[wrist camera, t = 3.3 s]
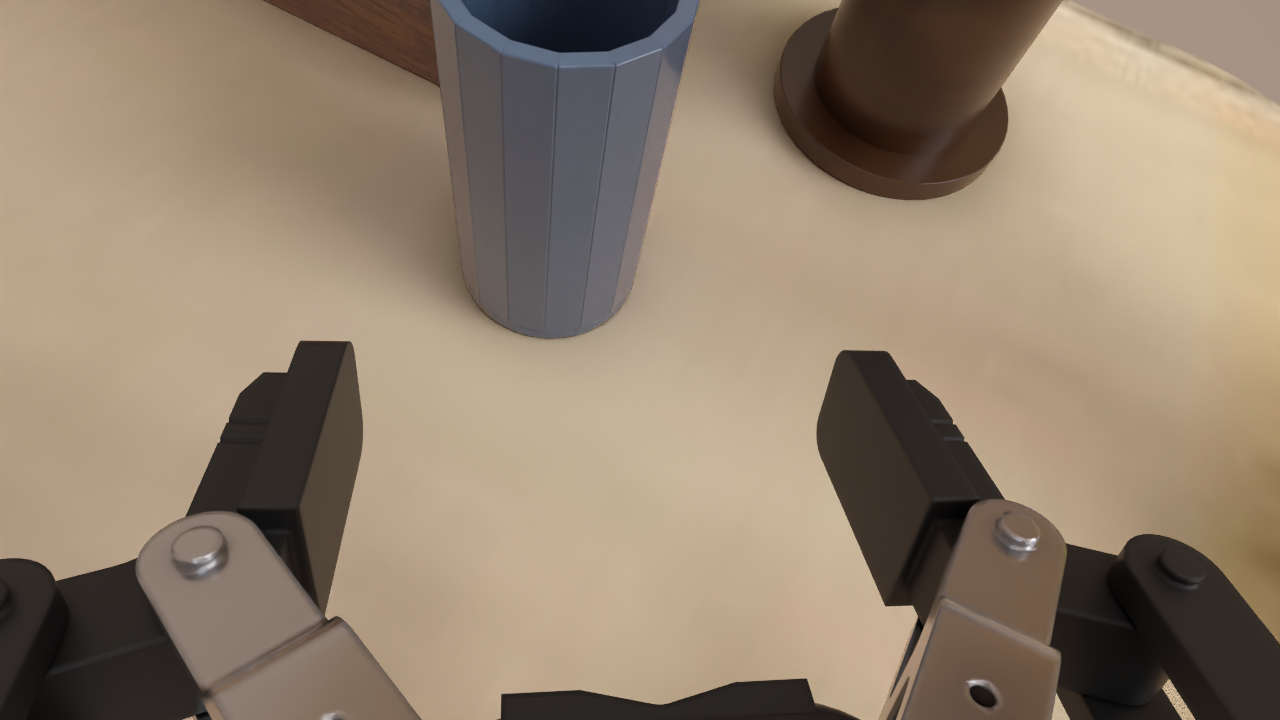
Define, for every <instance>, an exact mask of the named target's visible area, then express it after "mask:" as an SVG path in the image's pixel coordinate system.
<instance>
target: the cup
mask: <svg viewBox="0 0 1280 720" xmlns="http://www.w3.org/2000/svg"><path fill="white" fill-rule="evenodd" d="M699 4H700V0H430V7H431V16H432V24H433V32H434V41H435V49H436V57H437V65H438V74H439V82H440V90H441V99H442V107H443V115H444V123H445V132H446V140H447V148H448V157H449V165H450V173H451V181H452V190H453V198H454V206H455V215H456V223H457V231H458V239H459V248H460V256H461V264H462V273H463V276H464V280H465V283H466V286H467V288H468V290H469V292H470V294H471V296H472V298H473V299H474V301H475V302H476V303H477V305H478V306H479V307H480V308H481V309H482V310H483V311H484V312H485V313H486V314H487V315H488V316H489V317H491V318H492V319H493V320H494V321H496V322H497V323H499V324H501V325H502V326H504V327H506V328H508V329H510V330H512V331H515V332H518V333H521V334H524V335H527V336H532V337H537V338H565V337H571V336H575V335H579V334H582V333H585V332H588V331H590V330H592V329H595V328H596V327H598V326H600V325H602V324H603V323H605V322H606V321H607V320H609V319H610V318H611V317H612V316H613V315H614V314H615V313H616V312H617V311H618V310H619V309H620V308H621V307H622V305H623V304H624V303H625V301H626V299H627V297H628V295H629V294H630V291H631V289H632V285H633V282H634V278H635V274H636V270H637V266H638V262H639V258H640V254H641V250H642V245H643V241H644V237H645V233H646V228H647V224H648V220H649V216H650V211H651V207H652V203H653V199H654V194H655V190H656V186H657V182H658V178H659V173H660V169H661V165H662V161H663V156H664V152H665V148H666V144H667V139H668V135H669V131H670V127H671V122H672V118H673V114H674V110H675V105H676V101H677V97H678V93H679V88H680V84H681V80H682V76H683V71H684V67H685V63H686V59H687V55H688V50H689V46H690V42H691V38H692V33H693V29H694V25H695V21H696V16H697V12H698V8H699Z"/></svg>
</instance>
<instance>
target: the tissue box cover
mask: <svg viewBox="0 0 1280 720" xmlns="http://www.w3.org/2000/svg"><path fill="white" fill-rule="evenodd" d="M266 1H268V2H270V3H272V4H274V5H276V6H278V7H280V8H282V9H284V10H286V11H288V12H290V13H292V14H294V15H296V16H298V17H301V18H303V19H305V20H307V21H309V22H311V23H313V24H315V25H317V26H319V27H321V28H323V29H325V30H327V31H329V32H331V33H333V34H335V35H337V36H339V37H342V38H344V39H346V40H348V41H350V42H352V43H354V44H356V45H358V46H360V47H362V48H364V49H366V50H368V51H370V52H372V53H374V54H376V55H378V56H381V57H383V58H385V59H387V60H389V61H391V62H393V63H395V64H397V65H399V66H401V67H403V68H405V69H407V70H409V71H411V72H413V73H415V74H417V75H419V76H422V77H424V78H426V79H428V80H430V81H432V82H434V83H436V84H438V85H440V82H439V74H438V65H437V57H436V49H435V41H434V32H433V24H432V16H431V7H430V0H266Z"/></svg>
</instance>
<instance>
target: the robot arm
mask: <svg viewBox="0 0 1280 720" xmlns="http://www.w3.org/2000/svg"><path fill="white" fill-rule="evenodd" d="M362 441H363V419H362V410H361V402H360V394H359V386H358V378H357V370H356V362H355V354H354V348H353V345H352V343H351V342H350V341H300V342H299V344H298V346H297V348H296V351H295V354H294V356H293V359H292V361H291V364H290V367H289V369H288V372H287V373H269V372H263V373H262V374H261V375H260V376H259V377H258V378H257V379H256V380H254V381H253V382H252V383H251V384H250V385H249V386H248V387H247V388H245V389H244V390H243V391H242V392H241V393H240V394H239V396H238V399H237V401H236V403H235V405H234V408H233V410H232V412H231V414H230V417H229V423H226V426H225V428H224V430H223V433H222V435H221V437H220V443H218V444H217V446H216V448H215V451H214V453H213V455H212V458H211V460H210V462H209V464H208V467H207V469H206V471H205V473H204V476H203V478H202V480H201V483H200V485H199V487H198V489H197V492H196V494H195V496H194V498H193V501H192V503H191V505H190V508H189V510H188V512H187V514H186V516H185V517H184V518H182V519H179V520H177V521H175V522H173V523H171V524H169V525H167V526H166V527H164V528H163V529H161V530H160V531H158V532H157V533H156V534H155V535H154V536H152V537H151V538H150V540H149V541H148V542H147V543H146V544H145V545H144V547H143V548H142V550H141V551H140V553H139V556H138V558H136V559H134V560H131V561H129V562H126V563H123V564H120V565H117V566H113V567H110V568H106V569H102V570H98V571H94V572H90V573H86V574H82V575H78V576H74V577H71V578H67V579H63V580H59V581H55V579H54V577H53V575H52V573H51V572H50V571H49V570H48V569H47V568H46V567H45V566H44V565H42V564H40V563H38V562H35V561H32V560H27V559H20V558H8V559H0V720H182V719H185V718H188V717H191V716H192V717H193V719H194V720H421V718H420V717H419V716H418V714H417V713H416V712H415V710H414V709H413V708H412V707H411V705H410V704H409V703H408V701H407V700H406V699H405V697H404V696H403V695H402V693H401V692H400V691H399V690H398V688H397V687H396V686H395V684H394V683H393V682H392V680H391V679H390V678H389V676H388V675H387V674H386V673H385V671H384V670H383V669H382V667H381V666H380V665H379V663H378V662H377V661H376V659H375V658H374V657H373V656H372V654H371V653H370V652H369V650H368V649H367V648H366V646H365V645H364V644H363V642H362V641H361V640H360V639H359V637H358V636H357V635H356V633H355V632H354V631H353V629H352V628H351V627H350V626H349V625H348V624H347V623H346V622H345V621H344V620H343V619H342V618H340V617H338V616H335V617H334V618H332V619H330V620H328V619H327V618H326V617H325V611H326V607H327V603H328V598H329V594H330V589H331V585H332V581H333V576H334V572H335V567H336V563H337V558H338V554H339V550H340V545H341V541H342V536H343V532H344V528H345V523H346V519H347V514H348V510H349V506H350V501H351V497H352V492H353V488H354V484H355V479H356V475H357V470H358V466H359V461H360V457H361V451H362ZM817 445H818V450H819V454H820V456H821V459H822V461H823V463H824V466H825V468H826V470H827V472H828V475H829V477H830V479H831V482H832V484H833V486H834V489H835V491H836V493H837V496H838V498H839V500H840V502H841V505H842V507H843V509H844V512H845V514H846V516H847V519H848V521H849V523H850V526H851V528H852V530H853V532H854V535H855V537H856V539H857V542H858V544H859V546H860V549H861V551H862V553H863V556H864V558H865V560H866V562H867V565H868V567H869V569H870V572H871V574H872V576H873V579H874V581H875V583H876V586H877V588H878V590H879V592H880V595H881V597H882V599H883V602H884V604H885V606H909V605H913V606H914V609H915V611H916V613H917V615H918V618H917V620H916V622H915V624H914V626H913V628H912V630H911V633H910V636H909V638H908V641H907V644H906V647H905V649H904V652H903V655H902V657H901V660H900V663H899V666H898V668H897V671H896V674H895V676H894V679H893V682H892V685H891V687H890V690H889V693H888V695H887V698H886V701H885V704H884V706H883V709H882V712H881V714H880V717H879V719H878V720H1051V718H1052V713H1053V707H1054V701H1055V695H1056V693H1057V695H1058V697H1059V699H1060V701H1061V703H1062V705H1063V707H1064V708H1065V710H1066V712H1067V714H1068V716H1069V718H1070V720H1182V719H1181V717H1180V716H1179V714H1178V713H1177V711H1176V710H1175V708H1174V706H1173V705H1172V703H1171V702H1170V700H1169V698H1168V697H1167V695H1166V694H1165V692H1164V691H1163V689H1162V687H1163V686H1164V684H1165V683H1166V682H1167V681H1168V680H1169V679H1170V680H1171V682H1172V683H1173V685H1174V687H1175V688H1176V690H1177V691H1178V693H1179V694H1180V696H1181V697H1182V699H1183V700H1184V702H1185V704H1186V705H1187V707H1188V708H1189V710H1190V711H1191V713H1192V714H1193V716H1194V718H1195V720H1280V644H1279V643H1278V641H1277V640H1276V639H1275V638H1274V636H1273V635H1272V634H1271V633H1270V631H1269V630H1268V629H1267V628H1266V626H1265V625H1264V624H1263V623H1262V621H1261V620H1260V619H1259V618H1258V616H1257V615H1256V614H1255V613H1254V611H1253V610H1252V609H1251V608H1250V606H1249V605H1248V604H1247V603H1246V601H1245V600H1244V599H1243V597H1242V596H1241V595H1240V594H1239V592H1238V591H1237V590H1236V589H1235V587H1234V586H1233V585H1232V584H1231V582H1230V581H1229V580H1228V579H1227V577H1226V576H1225V575H1224V574H1223V572H1222V571H1221V570H1220V569H1219V568H1218V567H1217V566H1216V565H1215V564H1214V563H1213V562H1212V561H1211V560H1210V559H1208V558H1207V557H1206V556H1204V555H1203V554H1202V553H1200V552H1199V551H1197V550H1195V549H1194V548H1192V547H1190V546H1188V545H1186V544H1184V543H1182V542H1180V541H1177V540H1175V539H1172V538H1169V537H1165V536H1160V535H1153V534H1142V535H1138V536H1135V537H1133V538H1131V539H1130V540H1129V541H1128V542H1127V543H1126V545H1125V546H1124V548H1123V549H1122V551H1121V552H1120V554H1119V555H1118V556H1117V555H1113V554H1108V553H1104V552H1100V551H1096V550H1091V549H1087V548H1083V547H1078V546H1074V545H1070V544H1067V543H1065V541H1064V539H1063V537H1062V536H1061V534H1060V532H1059V531H1058V530H1057V529H1056V528H1055V526H1054V525H1053V524H1052V523H1051V522H1049V521H1048V520H1047V519H1046V518H1045V517H1043V516H1042V515H1041V514H1039V513H1037V512H1036V511H1034V510H1032V509H1030V508H1028V507H1026V506H1024V505H1021V504H1019V503H1016V502H1012V501H1008V500H1005V499H1004V497H1003V496H1002V494H1001V493H1000V491H999V490H998V488H997V487H996V485H995V484H994V482H993V481H992V479H991V478H990V476H989V475H988V473H987V471H986V470H985V468H984V467H983V465H982V464H981V462H980V461H979V459H978V458H977V456H976V455H975V453H974V452H973V450H972V449H971V447H970V446H969V444H968V443H967V442H964V436H963V435H962V433H961V432H960V430H959V429H958V427H957V426H956V425H953V420H952V418H951V417H950V415H949V414H948V412H947V411H946V409H945V408H944V406H943V405H942V403H941V402H940V400H939V399H938V398H937V397H936V396H934V395H933V394H932V393H931V392H930V391H928V390H927V389H926V388H925V387H923V386H922V385H921V384H920V383H918V382H917V381H916V380H906V379H905V377H904V376H903V374H902V373H901V371H900V369H899V368H898V366H897V365H896V363H895V361H894V360H893V358H892V357H891V355H890V354H889V353H888V352H886V351H853V350H844V351H841V352H840V353H839V355H838V356H837V358H836V361H835V364H834V367H833V371H832V374H831V377H830V381H829V384H828V387H827V391H826V394H825V397H824V401H823V404H822V407H821V411H820V414H819V418H818V422H817ZM498 720H860V719H858V718H856V717H854V716H852V715H849V714H847V713H845V712H842V711H840V710H837V709H834V708H831V707H828V706H825V705H821V704H816V703H814V700H813V697H812V694H811V690H810V687H809V684H808V681H807V679H789V680H770V681H750V682H734V683H731V684H728V685H725V686H722V687H719V688H716V689H713V690H709V691H706V692H703V693H700V694H697V695H694V696H691V697H688V698H684V699H681V700H678V701H675V702H672V703H668V704H664V705H656V704H650V703H644V702H639V701H634V700H629V699H623V698H618V697H613V696H608V695H602V694H597V693H592V692H587V691H582V690H574V691H554V692H535V693H515V694H501V719H498Z"/></svg>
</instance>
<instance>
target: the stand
mask: <svg viewBox="0 0 1280 720" xmlns="http://www.w3.org/2000/svg"><path fill="white" fill-rule="evenodd" d="M1062 1H1063V0H842V1H841V4H840V6H839V8H836V9H832V10H829V11H826V12H823V13H821V14H819V15H817V16H815V17H813V18H811V19H810V20H808V21H807V22H805V23H804V24H803V25H802V26H800V27H799V28H798V29H797V30H796V31H795V32H794V34H793V35H792V36H791V38H790V39H789V40H788V42H787V44H786V46H785V48H784V51H783V53H782V56H781V59H780V61H779V64H778V67H777V71H776V74H775V80H774V97H775V103H776V107H777V111H778V114H779V116H780V119H781V121H782V123H783V125H784V127H785V129H786V130H787V132H788V134H789V135H790V137H791V138H792V139H793V141H794V142H795V143H796V145H797V146H798V147H799V148H800V149H801V150H802V151H803V153H804V154H805V155H806V156H807V157H808V158H810V159H811V160H812V161H813V162H814V163H815V164H817V165H818V166H819V167H820V168H822V169H823V170H825V171H826V172H828V173H829V174H830V175H832V176H834V177H835V178H837V179H839V180H841V181H843V182H844V183H846V184H849V185H851V186H853V187H856V188H858V189H860V190H863V191H866V192H869V193H873V194H876V195H880V196H885V197H890V198H897V199H907V200H910V199H929V198H936V197H940V196H944V195H948V194H951V193H953V192H955V191H958V190H960V189H962V188H964V187H965V186H967V185H969V184H970V183H972V182H973V181H974V180H975V179H976V178H978V177H979V176H980V175H981V174H982V172H983V171H984V170H985V169H986V167H987V166H988V165H989V163H990V162H991V161H992V160H993V158H994V157H995V156H996V155H997V153H998V152H999V150H1000V148H1001V146H1002V144H1003V143H1004V140H1005V136H1006V133H1007V127H1008V109H1007V104H1006V100H1005V96H1004V93H1003V91H1002V88H1001V86H1002V85H1003V84H1004V82H1005V81H1006V79H1007V78H1008V77H1009V75H1010V74H1011V72H1012V71H1013V70H1014V68H1015V67H1016V65H1017V64H1018V63H1019V61H1020V60H1021V58H1022V57H1023V56H1024V54H1025V53H1026V51H1027V50H1028V48H1029V47H1030V46H1031V44H1032V43H1033V41H1034V40H1035V39H1036V37H1037V36H1038V34H1039V33H1040V32H1041V30H1042V29H1043V27H1044V26H1045V25H1046V23H1047V22H1048V20H1049V19H1050V18H1051V16H1052V15H1053V13H1054V12H1055V11H1056V9H1057V8H1058V6H1059V5H1060V4H1061V2H1062Z"/></svg>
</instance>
